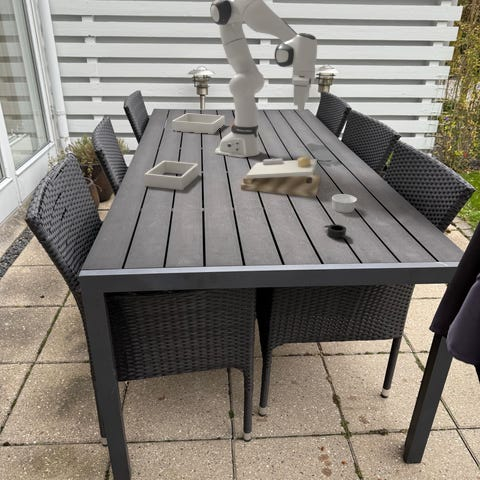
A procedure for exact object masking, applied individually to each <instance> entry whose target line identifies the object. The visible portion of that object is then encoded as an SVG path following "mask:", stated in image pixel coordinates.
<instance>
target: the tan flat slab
mask: <svg viewBox="0 0 480 480" xmlns="http://www.w3.org/2000/svg"><path fill="white" fill-rule="evenodd" d="M252 168H253V166H252V167H251V168H250V170H251V169H252ZM248 173H249V171H248V172H247V173H246V174H245V176H244V177H243V181H242V182H241V184H240V190H245V191H253V192H264V193H272V194H280V193H281V194H282V195H290V194H292V195H291V196H299V195H300V196H301V197H308V196H310V197H311V198H316V197H317V194H318V191H319V188H320V185H319V184H321V181H322V175H321V174H320V175H319V174H312V175H308V176H289V177H270V178H251V179H247V174H248ZM281 194H280V195H281Z"/></svg>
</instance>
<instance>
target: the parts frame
mask: <svg viewBox="0 0 480 480" xmlns="http://www.w3.org/2000/svg"><path fill="white" fill-rule="evenodd" d="M199 169H200V168H199V163H193V162H192V163H191V162H183V161H173V160H172V161H171V160H162V161H161V162H160V163H158V164H156V165H154V167H152V168H151V169H149V170H148V171H147V172H145V173H144V174H143V176H144V177H143V178H144V187H150V188H151V187H153V188H161V189H171V190H177V191H183V190H184V189H185V188H186V187H187V186H189V184H191V183H192V181H194V180H195V179H196V178H197V177H198V176H199V173H200V172H199ZM166 173H169V174H175V175H176V174H179V175H181V176H175V175H166ZM164 174H165V175H164Z"/></svg>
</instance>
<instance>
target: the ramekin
mask: <svg viewBox="0 0 480 480" xmlns="http://www.w3.org/2000/svg"><path fill="white" fill-rule="evenodd" d="M331 201H332V202H331V204H332V205H331V206H332V210H333V211H335V212H338V213H343V214H347V213H352V212H354V211H355V208H356V204H357V201H358V198H357V197H355V196H353V195H351V194H343V193H340V194H339V193H338V194H334V195H332V197H331Z"/></svg>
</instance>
